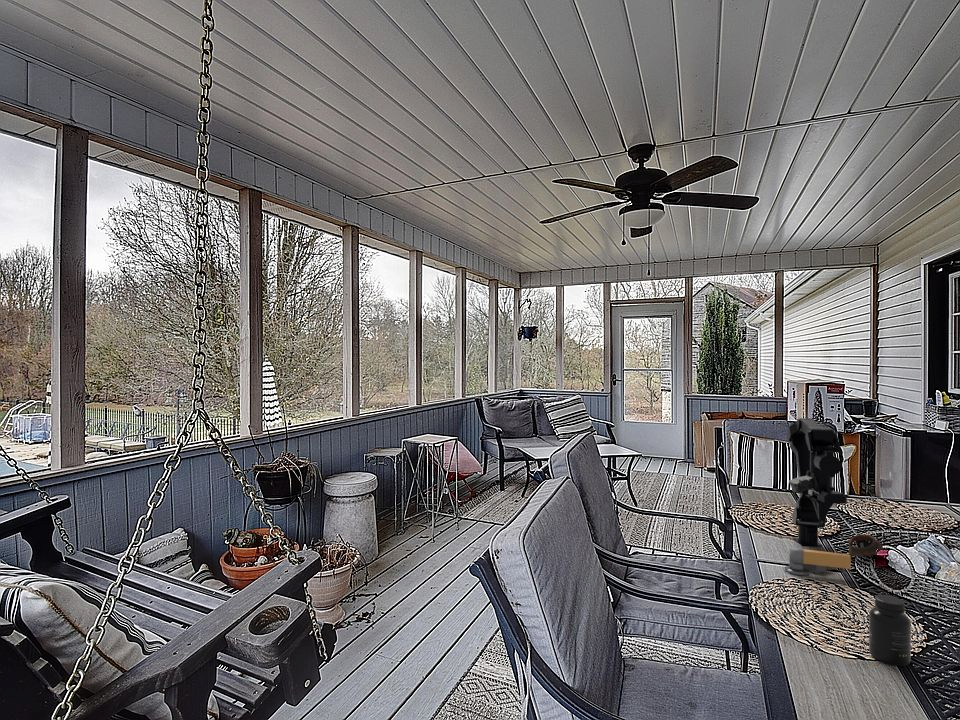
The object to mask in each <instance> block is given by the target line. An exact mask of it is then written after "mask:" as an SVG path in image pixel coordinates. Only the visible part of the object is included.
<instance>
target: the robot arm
mask: <svg viewBox="0 0 960 720" xmlns="http://www.w3.org/2000/svg"><path fill="white" fill-rule="evenodd" d="M786 441H787V442H788V443H789V445H788V446H789V448H790V450H791V451H792V452H793V453H794V454H795V461H796V469H797V471H796V472H797V477H795V478H792V479H790V480H789V481H788V482H789V485H790V487H791V490H792V492H795V493H796V494H799V497H798V499H797V501H796V502H795V507H793V511H792V515H791V520H792V524H794V525H795V526H797V537H796V538H793V540H794V541H795V542H796V543H798V544H799V545H801V546H803V547H823V544H822V543H820V542H819V528H822V529H824V528H825V527H826V519H827V516H828V515H827V514H828V513H829V511H830V509H831V508H832V506H833V505H836V504H838V505H839V504H841V505H847V504H848V496H846V495H845V493H843V492H840V491H836V488H835V487H834V486H833V478H835V477H836V475H837V474H839V473H840V472H841V470H842V468H843V464H842V462H841V460H840V459H839V458H838V457H836V456H835V453H838V454H839V453H840V450H841V443H840V440H839V437H838V435H837V433H836V432H835V431H834V429H833V428H831V427H822V426H821V425H819V424H818V423H817V422H816V420H815V419H814V418H807V417H804V418H802V417H799V418H797V419H796V421H795V422H794V423H793V424H791V425H789V426H788V428H787V432H786Z"/></svg>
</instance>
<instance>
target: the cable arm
mask: <svg viewBox="0 0 960 720" xmlns="http://www.w3.org/2000/svg"><path fill="white" fill-rule="evenodd" d="M788 550H789V552H788V553H789V558H788V559H789V561H790V562H792V563H796V564H803V563H804V564H812V565H820V566H829V567H837V568H839V569H847V570H851V568H852V566H851V564H852V562H851V561H852V558H851V556H850V555H849V553H848V554H847V553H841V552H840V553H839V552H831V551H821V550H814V549H803V548H800V547H789V549H788ZM837 568H836V569H837Z"/></svg>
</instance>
